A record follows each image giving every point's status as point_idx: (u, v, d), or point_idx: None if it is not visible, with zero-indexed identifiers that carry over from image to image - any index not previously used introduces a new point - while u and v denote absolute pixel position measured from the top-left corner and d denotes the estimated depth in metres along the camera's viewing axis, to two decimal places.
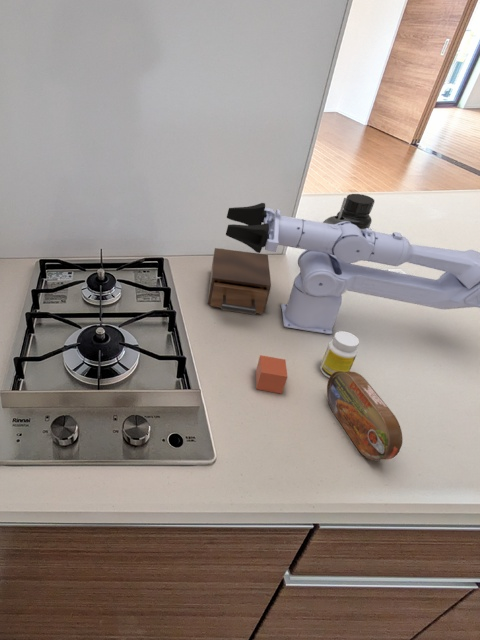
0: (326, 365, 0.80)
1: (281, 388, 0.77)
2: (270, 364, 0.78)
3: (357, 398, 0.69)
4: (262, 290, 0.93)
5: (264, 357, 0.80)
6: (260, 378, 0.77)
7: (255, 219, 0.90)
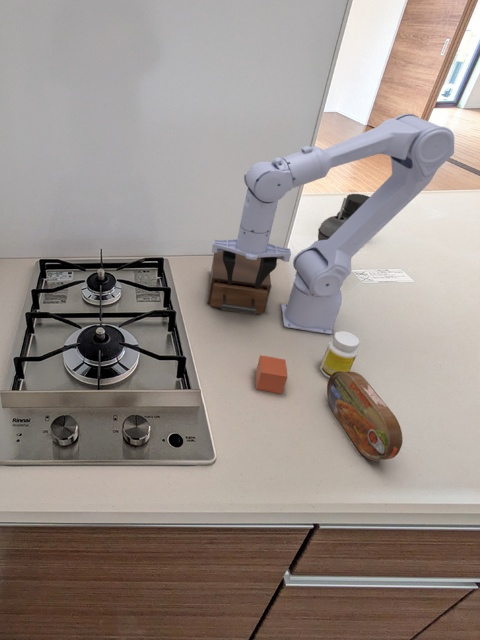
0: (326, 365, 0.80)
1: (281, 388, 0.77)
2: (270, 364, 0.78)
3: (357, 398, 0.69)
4: (262, 290, 0.93)
5: (264, 357, 0.80)
6: (260, 378, 0.77)
7: None
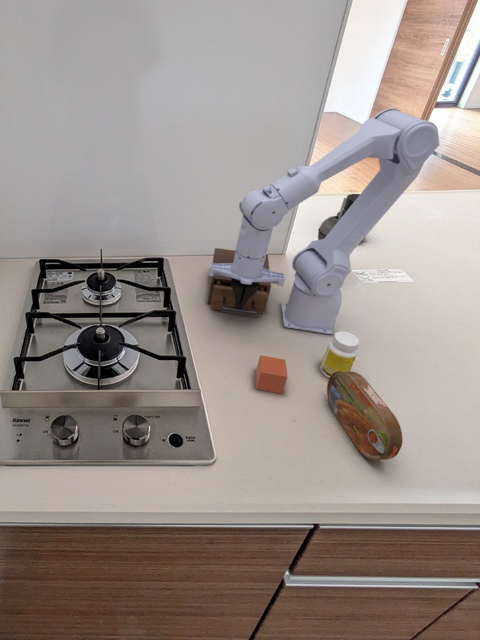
0: (326, 365, 0.80)
1: (281, 388, 0.77)
2: (270, 364, 0.78)
3: (357, 397, 0.69)
4: (262, 292, 0.93)
5: (264, 357, 0.80)
6: (260, 378, 0.77)
7: None
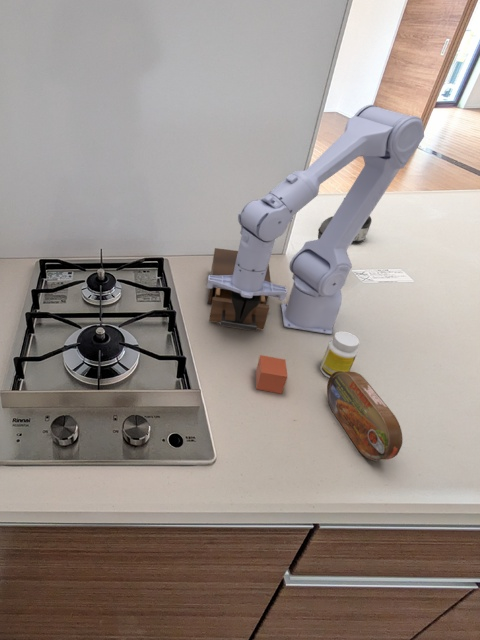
0: (326, 365, 0.80)
1: (281, 388, 0.77)
2: (270, 364, 0.78)
3: (357, 397, 0.69)
4: (263, 305, 0.89)
5: (264, 357, 0.80)
6: (260, 378, 0.77)
7: (243, 297, 0.86)
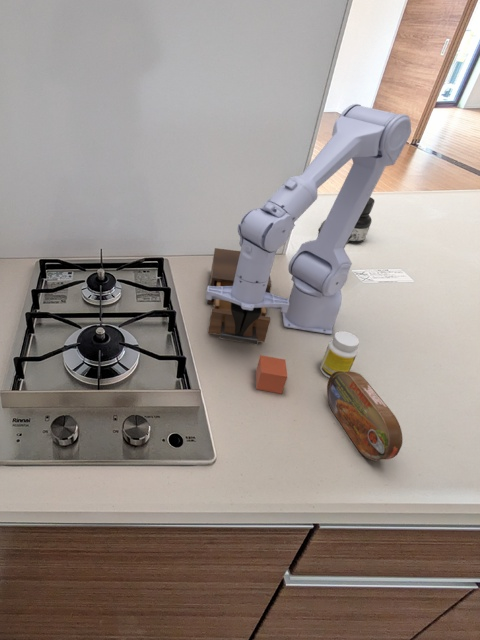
0: (326, 365, 0.80)
1: (281, 388, 0.77)
2: (270, 364, 0.78)
3: (357, 397, 0.69)
4: (264, 317, 0.86)
5: (264, 357, 0.80)
6: (260, 378, 0.77)
7: None
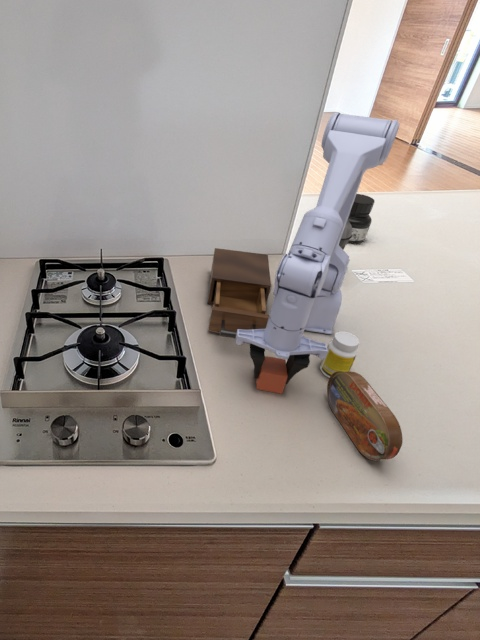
0: (326, 365, 0.80)
1: (281, 388, 0.77)
2: (270, 364, 0.78)
3: (357, 398, 0.69)
4: (264, 315, 0.86)
5: None
6: (260, 378, 0.77)
7: None
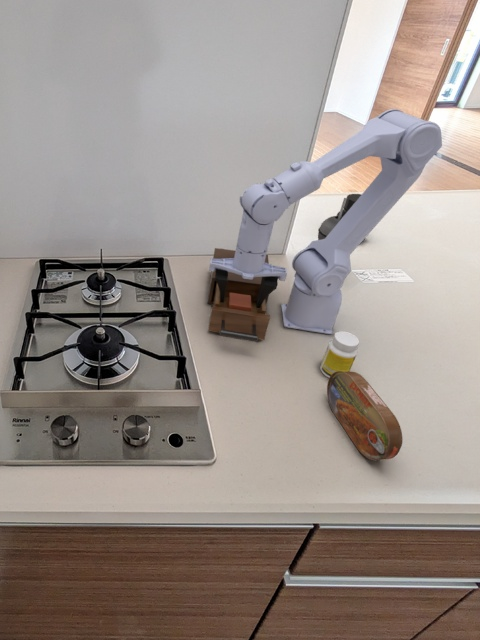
0: (326, 365, 0.80)
1: None
2: (237, 299, 0.91)
3: (357, 397, 0.69)
4: (264, 315, 0.86)
5: (233, 294, 0.93)
6: None
7: None
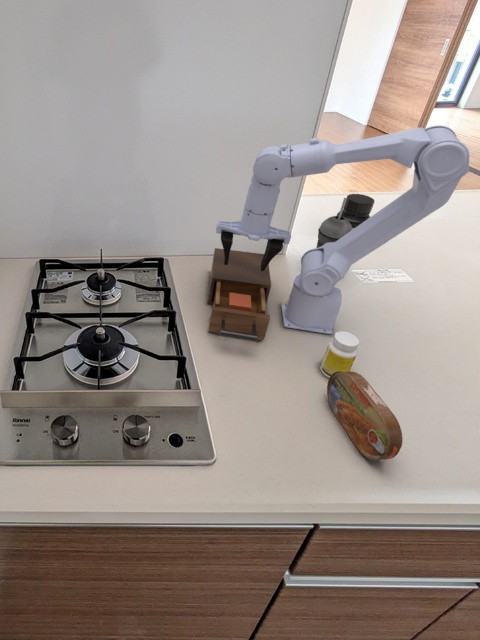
0: (326, 365, 0.80)
1: None
2: (237, 299, 0.91)
3: (357, 398, 0.69)
4: (264, 315, 0.86)
5: (233, 294, 0.93)
6: None
7: None
